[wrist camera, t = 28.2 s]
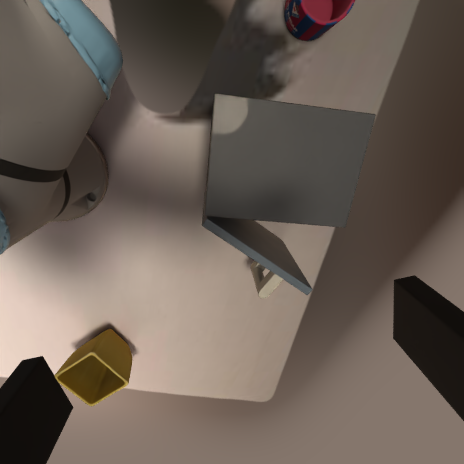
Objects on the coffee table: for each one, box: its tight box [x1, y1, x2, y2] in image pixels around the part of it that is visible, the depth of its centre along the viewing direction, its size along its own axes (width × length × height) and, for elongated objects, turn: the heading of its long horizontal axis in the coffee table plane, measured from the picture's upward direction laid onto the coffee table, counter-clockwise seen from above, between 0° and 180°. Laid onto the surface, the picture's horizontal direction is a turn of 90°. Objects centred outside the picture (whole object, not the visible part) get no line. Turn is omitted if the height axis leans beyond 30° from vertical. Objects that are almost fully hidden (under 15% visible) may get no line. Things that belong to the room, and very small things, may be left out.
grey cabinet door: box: [202, 191, 312, 299], centre depth 41 cm, size 6×16×16 cm, turn 53°
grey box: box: [205, 93, 376, 227], centre depth 37 cm, size 12×16×16 cm
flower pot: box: [54, 329, 132, 406], centre depth 51 cm, size 9×9×9 cm
